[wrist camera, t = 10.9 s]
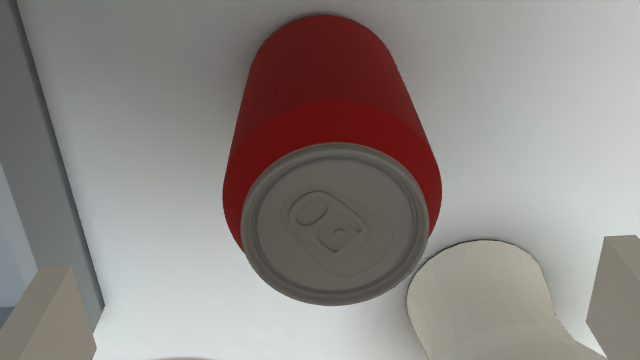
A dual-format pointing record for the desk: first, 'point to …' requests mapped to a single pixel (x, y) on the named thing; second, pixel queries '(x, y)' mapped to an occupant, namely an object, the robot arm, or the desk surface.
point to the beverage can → (329, 166)
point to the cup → (488, 307)
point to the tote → (34, 183)
